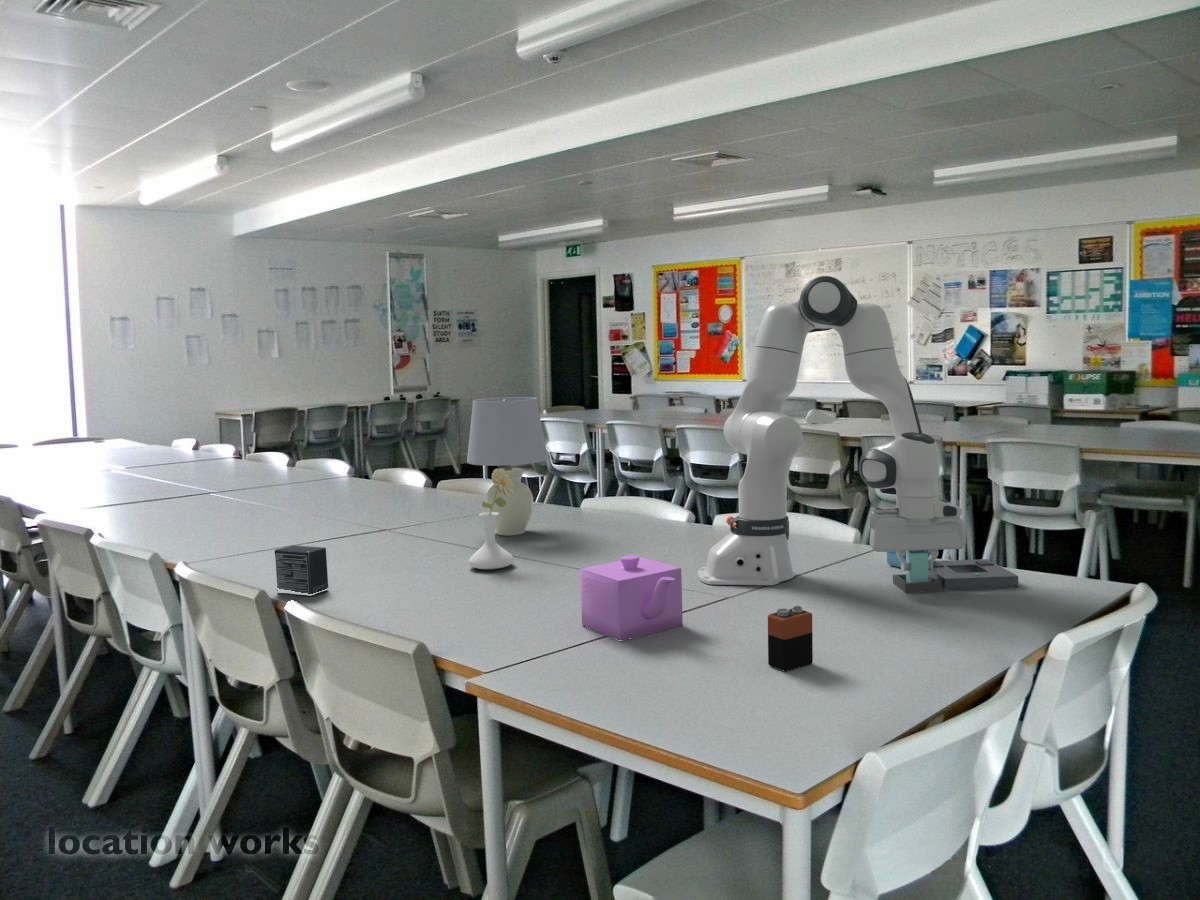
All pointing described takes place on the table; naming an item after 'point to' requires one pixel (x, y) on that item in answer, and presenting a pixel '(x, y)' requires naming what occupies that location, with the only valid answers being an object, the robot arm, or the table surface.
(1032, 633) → the table surface
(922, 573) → the aqua plug
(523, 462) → the lamp
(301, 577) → the small box
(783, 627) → the battery
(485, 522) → the flower in vase
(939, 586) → the tray
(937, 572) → the panel
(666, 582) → the teapot
